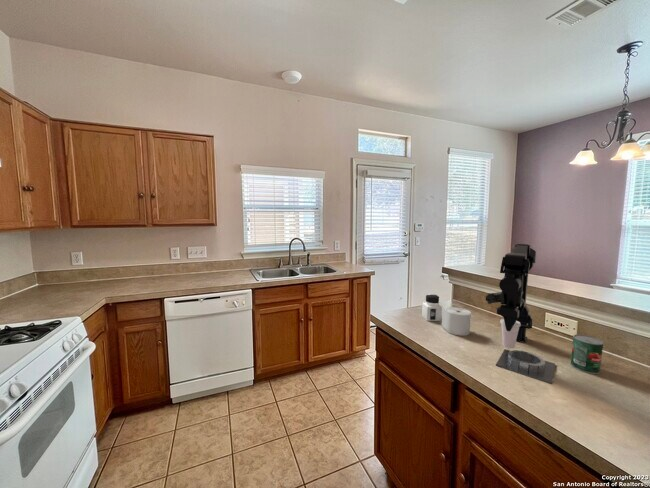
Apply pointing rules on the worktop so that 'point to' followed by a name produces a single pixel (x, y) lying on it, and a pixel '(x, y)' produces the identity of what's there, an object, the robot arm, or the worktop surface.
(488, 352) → the worktop surface
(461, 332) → the toilet tissue
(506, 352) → the duct collar
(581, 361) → the canned tomato
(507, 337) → the smoothie
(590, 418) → the worktop surface
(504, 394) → the worktop surface
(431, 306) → the container
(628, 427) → the worktop surface
